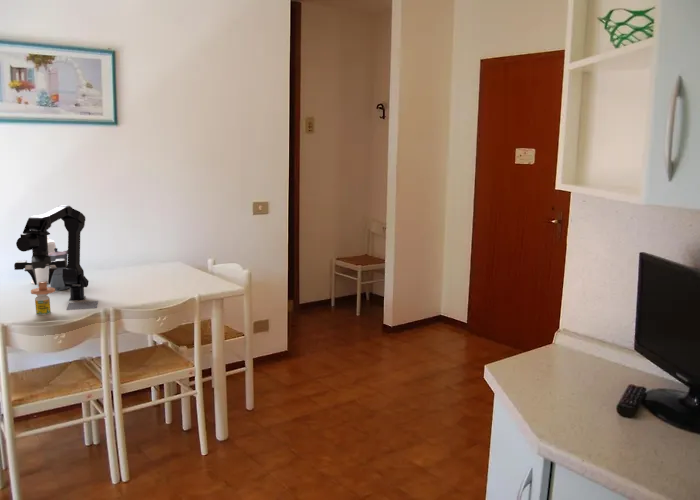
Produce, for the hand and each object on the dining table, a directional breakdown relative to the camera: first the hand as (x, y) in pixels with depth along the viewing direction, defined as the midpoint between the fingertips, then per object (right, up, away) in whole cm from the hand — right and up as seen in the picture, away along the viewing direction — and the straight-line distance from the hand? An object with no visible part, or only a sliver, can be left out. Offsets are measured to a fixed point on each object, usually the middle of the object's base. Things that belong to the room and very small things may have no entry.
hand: (42, 284), depth 246 cm
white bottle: (-28, -2, +57) cm, 64 cm away
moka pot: (-14, -5, +45) cm, 48 cm away
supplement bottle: (-1, -13, +2) cm, 13 cm away
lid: (0, -3, 0) cm, 3 cm away
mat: (+10, -10, +14) cm, 20 cm away
